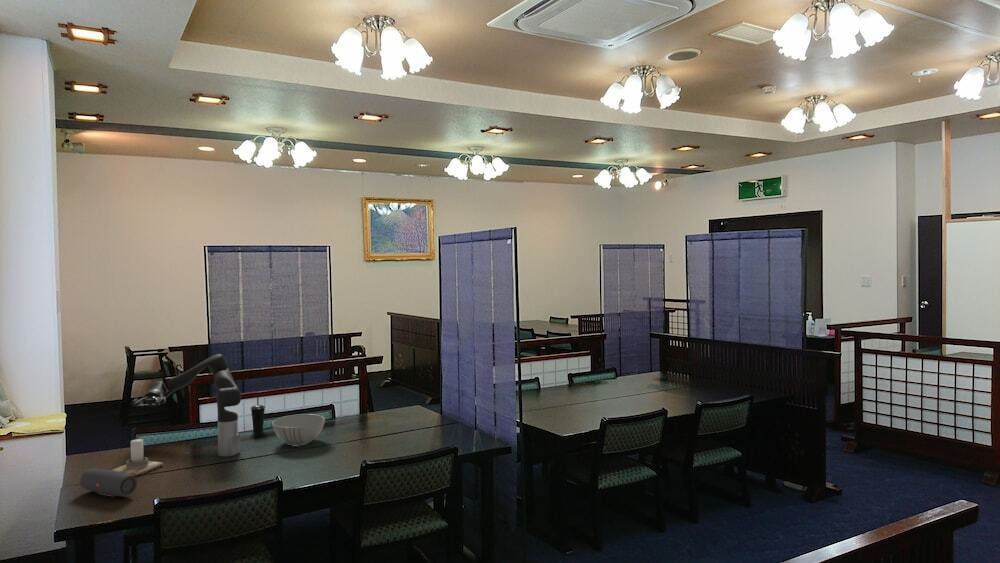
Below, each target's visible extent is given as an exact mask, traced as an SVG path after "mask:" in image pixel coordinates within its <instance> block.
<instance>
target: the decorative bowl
mask: <svg viewBox="0 0 1000 563" xmlns="http://www.w3.org/2000/svg"><path fill="white" fill-rule="evenodd" d="M325 423H326V418H325V417H324V416H322V415H318V414H314V413H313V414H312V413H301V414H292V415H291V414H290V415H289V414H288V415H285V416H282V417H278V418H275V419H274V420H272V422H271V427H272V429H273V431H274V433H275V434H276V436H277V437H278V438H279V439H280V440H281V441H283V442H284V443H286V445H287V444H288V445H302V444H307V443H309V442H311V443H312V441H313V440H315V439H316V438H317V436H319V435H320V433H321V432H322V430H323V428H324V426H325ZM288 445H287V446H288Z"/></svg>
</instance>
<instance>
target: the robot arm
mask: <svg viewBox="0 0 1000 563" xmlns="http://www.w3.org/2000/svg"><path fill="white" fill-rule="evenodd" d="M206 368H208V369H209V371H210V372H211V374H212V376H214V377H213V383H214V385H215V388H216V389H217V391H216V407H217V445H218V446H217V448H218V449H217V450H218V452H217V453H218V454H217V455H218V456H219V457H227V458H228V457H233V456H236V455H238V454H240V453H241V434H240V433H239V417H238V416H239V415H238V413H237V412H235V411H230V410H228V409H226V407H227V408H228V407H235V406H239V405H240V403H241V400H242V395H241V394H242V393H241V391H240V389H239V387H238V386H237V385H236V382H235V379H234V377H233V375H232V373H231V372H230V366H229V364H228V362H227V360H226V359H225V357H224V356H223V354H221V353H216V354H213V355H211V356H210V357H208V358H206V359H204V360H203V361H201V362H199V363H198V364H196V365H195V366H193V367H191V368H190V369H187V371H184V372H182V373H180V374H177V375H175V376H173V377H171V378H169V380H168V385H169V389H168V388H167V386H166V384H165V382H164V381H162V380H156V381H154V382H153V383H151V385H150V386H149V389H148V391H147V392H146V393H145V394H144V396H143V397H142V398H140V399H139V398H134V399H133V400H132V401H131V403H132V404H131V406H132V407H135V408H138V407H139V406H141V407H143V406H147V407H151V408H152V407H158V406H159V405H165V404H166V401H167V400H166V399H167V398H169V397H170V396H171V394H174V392H176V391H178V390H180V389H183V388H184V387H186V386H188V385H190V384H191V383H192V382H193V381H194V380H195V379H196V377H197V376H198V374H200V372H202V370H204V369H206Z"/></svg>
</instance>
